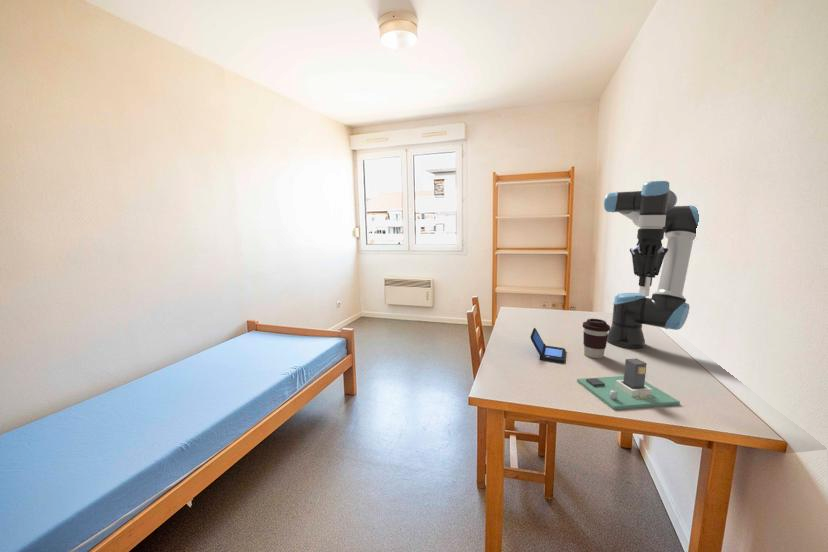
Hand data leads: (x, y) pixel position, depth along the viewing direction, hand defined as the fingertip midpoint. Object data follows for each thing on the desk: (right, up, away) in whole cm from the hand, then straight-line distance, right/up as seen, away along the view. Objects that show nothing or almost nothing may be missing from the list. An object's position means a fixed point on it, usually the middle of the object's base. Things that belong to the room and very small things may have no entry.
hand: (643, 295), depth 119 cm
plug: (-10, -30, -10) cm, 33 cm away
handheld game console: (-25, -27, +23) cm, 43 cm away
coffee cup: (-6, -27, +22) cm, 35 cm away
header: (-10, -30, -10) cm, 34 cm away
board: (-12, -31, -9) cm, 35 cm away
